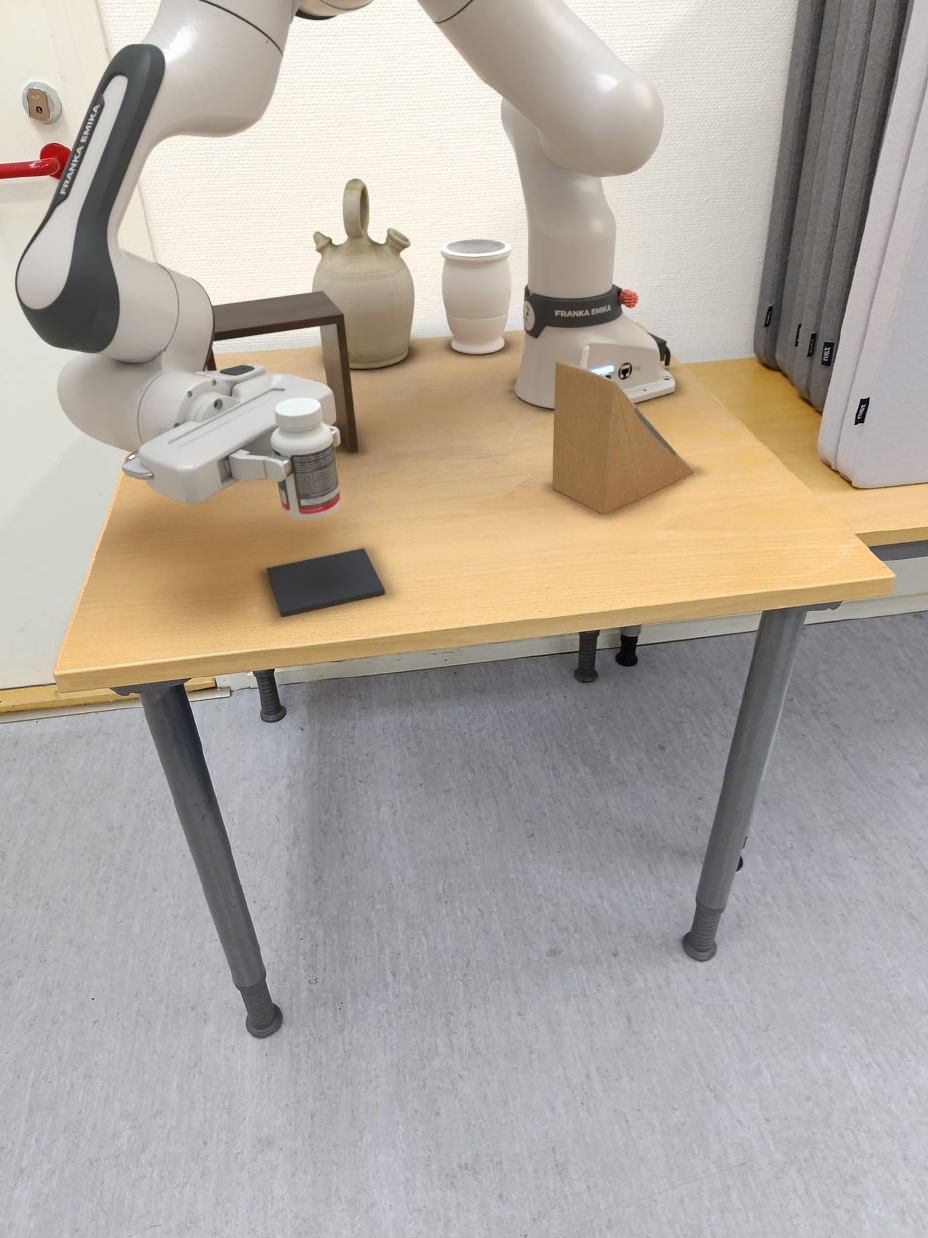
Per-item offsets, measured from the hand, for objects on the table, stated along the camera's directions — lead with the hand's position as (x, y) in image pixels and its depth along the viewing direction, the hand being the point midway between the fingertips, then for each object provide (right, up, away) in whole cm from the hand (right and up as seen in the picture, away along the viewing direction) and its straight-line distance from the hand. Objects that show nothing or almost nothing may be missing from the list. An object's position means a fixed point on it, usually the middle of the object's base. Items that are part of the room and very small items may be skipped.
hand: (312, 454), depth 76 cm
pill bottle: (-1, -4, +4) cm, 6 cm away
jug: (-2, +27, +60) cm, 65 cm away
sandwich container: (+32, +1, +24) cm, 40 cm away
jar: (+15, +29, +62) cm, 70 cm away
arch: (-9, +7, +34) cm, 36 cm away
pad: (0, -11, +9) cm, 14 cm away
